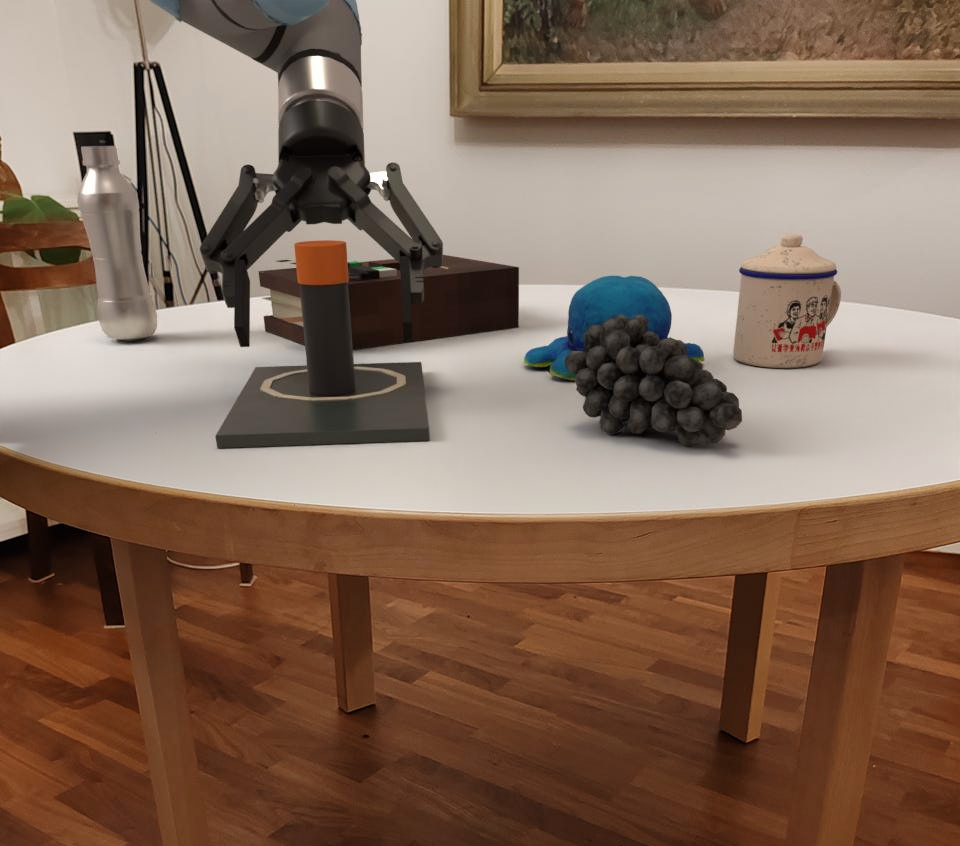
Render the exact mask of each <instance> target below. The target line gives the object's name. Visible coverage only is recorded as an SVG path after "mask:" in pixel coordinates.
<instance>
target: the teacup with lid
mask: <svg viewBox="0 0 960 846" xmlns="http://www.w3.org/2000/svg"><path fill="white" fill-rule="evenodd" d="M803 239H804V238H803V236H802V234H799V233H798V234H796V233H794V234H793V233H787V234H783V235H781V237H780V242H779V243H780V245H775V246H773V247H770V248H768V249H766V250H765V251H764V252H762V253H760V254H759V255H757V256H755V257H751V258H747V259H746V260H744V261H743V262H742V263H741V265H740V266H741V267H740V268H739V270H738V271H739V273H740V283H739V284H740V285H739V293H738V303H737V312H736V322H735V332H734V343H733V350H732V351H733V352H732V356H733V358H734V359H735V360H736V361H737V362H739V363H742V364H745V365H748V366H749V365H750V366H754V367H761V368H769V369H770V368H772V369H797V368H806V367H811V366H815V365H817V364H819V363H820V362H821V361H822V360H823V355H824V347H825V340H826V333H827V327H828V326H829V325H830V324H831V323H832V322H833V320H834V318H835V317H836V315H837V313H838V310H839V308H840V304H841V299H842V290H841V287H840V285H839V283H838V282H837V281H836V280H835V276H836V275H837V274H838V270H837V264H836V263H835V262H834V261H832V260H830V259H826V258H824V257H823V256H820V255H819V254H818V253H817V252H815V250H813V249H812V248H810V247H807V246H803V245H802V244H803Z"/></svg>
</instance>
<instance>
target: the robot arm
mask: <svg viewBox="0 0 960 846" xmlns="http://www.w3.org/2000/svg"><path fill="white" fill-rule="evenodd" d="M149 1H150V2H151V3H152V4H154V5H156V6H157V7H159V8H160V9H162V10H163V11H165V12H166V13H168V14H169V15H171V16H173V17H174V18H175V20H176V21H178V22H179V23H182V22H183V23H185V24H187V25H189V26H191V27H192V28H194V29H195V30H198V31H200V32H202V33H204V34H206V35H207V36H209V37H211V38H213V39H215V40H217V41H218V42H221V43H222V44H224V45H226V46H228V47H230V48H232V49H234V50H236V51H237V52H239V53H241V54H243V55H245V56H246V57H249V58H250V59H252V60H253V61H255V62H257V63H259V64H261V65H263V66H264V67H266V68H268V69H270V70H272V71H274V72H275V73H276V74H277V86H278V87H277V118H278V119H277V120H278V121H277V122H278V129H277V130H278V132H277V135H278V136H277V138H278V139H277V141H278V145H277V147H278V148H277V149H278V151H277V152H278V153H277V154H278V155H277V156H278V159H277V160H278V161H277V162H278V164H277V167H276V168H275V171H273V173H260V172H256V168H255V167H254V166H253V165H252V164H244V165H243V166H242V167H241V169H240V172H239V178H238V179H239V180H238V184H237V185H238V186H236V188H235V190H234V191H233V193H232V195H231V197H230V198H229V200H228V201H227V203H226V204H225V206H224V208H223V209H222V210H221V212H220V214H219V215H218V217H217V219H216V220H215V222H214V223H213V225H212V226H211V228H210V230H209V232H208V233H207V235H206V237H205V238H204V239H203V241H202V243H201V245H200V247H199V252H200V256H201V258H202V261H203V264H204V267H205V270H206V272H207V273H209V274H217V273H220V274H221V293H222V297H223V300H224V303H225V305H226V307H227V308H228V309H234V313H233V314H234V315H233V322H234V323H233V325H234V326H233V328H234V332H235V334H236V338H237V341H238V345H239V347H240V348H249V347H250V346H251V345H250V344H251V343H250V341H251V340H250V339H251V337H250V335H251V334H250V333H251V332H250V331H251V329H250V327H251V280H250V279H251V278H250V276H249V273H248V270H249V269H250V268H251V267H252V266H253V265H254V264H255V263H256V262H257V261H258V260H259V259H260V258H261V257H262V256H263V255H264V254H265V253H266V252H267V251H268V250H269V249H270V248H271V247H272V246H273V245H274V244H275V243H276V242H277V241H278V240H279V239H280V238H281V237H282V236H283V235H284V234H285V233H286V232H287V233H291V232H292V231H294V229H295V228H296V227H297V226H298V225H299V224H300V223H301V222H305V224H306V225H318V224H323V223H326V224H330V225H342V224H343V222H344V221H347V220H348V221H349V222H350V223H351V224H352V225H353V226H354V227H355V228H356V229H357V230H359V231H363V232H365V233H366V234H367V235H368V236H369V237H370V238H371V239H372V240H374V242H376V243H377V244H378V245H379V246H380V247H381V249H383V250H384V251H385V252H387V253H388V254H389V255H390V256H391V257H392V259H395V260H396V261H397V262H399V263H400V274H401V295H402V317H403V337H404V342H406V343H413V342H414V341H413V337H412V313H411V303H422V302H423V300H424V278H423V272H424V270H425V269H427V268H429V267H432V268H436V269H437V268H440V267H441V266H442V264H443V255H444V242H443V240H442V239H441V237H440V235H439V234H438V232H437V231H436V229H435V228H434V227H433V225H432V224H431V222H430V221H429V218H427V216H426V215H425V214H424V212H423V210H422V208H421V207H420V206H419V204H418V203H417V201H416V200H415V198H414V197H413V195H412V194H411V192H410V191H409V189H408V188H407V187H406V185H405V183H404V182H403V176H402V171H401V167H400V165H399V164H398V163H397V162H389V163H387V164H386V167H385V170H384V171H375V172H370V171H369V170H368V169H367V167H366V156H365V133H364V105H363V103H364V102H363V89H362V87H363V79H362V77H363V76H362V45H363V39H362V38H363V33H362V27H361V26H362V25H361V22H360V14H359V9H358V4H357V0H149ZM372 190H375V191H377V192H378V193H379V195H380V196H381V197H382V198H383V200H384V201H385V202H388V201H389V204H390V207H391V209H392V211H393V212H394V214H395V216H396V217H397V218H398V220H399V221H400V224H402V226H403V227H404V229H405V231H406V232H407V233H408V234H407V233H406V232H405V231H404V230H403V229H402V228H401V227H399V226H398V225H397V224H396V223H395V222H394V221H393V220H391V218H390V217H388V216H387V215H386V214H385V213H384V212H383V211H382V210H381V209H380V208H378V207H377V205H375V204H374V202H372V200H371V198H370V196H369V195H370V193H371V191H372ZM271 192H274V193H275V195H274V196H273V197H272V199H271V202H270V204H269V206H267V207H266V208H265V209H264V210H263V211H262V212H261V213H260V214H259V216H257V217H256V218H255V219H254V220H253V221H252V222H251V219H252V218H253V217H254V215H255V213H256V211H257V208H258V204H263V203H264V202H265V198H266V196H267V194H269V193H271ZM250 222H251V223H250ZM249 223H250V224H249Z"/></svg>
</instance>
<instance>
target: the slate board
mask: <svg viewBox="0 0 960 846" xmlns="http://www.w3.org/2000/svg"><path fill="white" fill-rule="evenodd" d="M422 365H423V364H422V361H405V362H403V361H402V362H374V363H354V373H355V387H356V390H355V391H354V392H352V393H349V394H345V395H339V396H319V395H314V394H311V393H310V391H309V381H308V371H307V365H281V366H279V365H278V366H277V365H276V366H255V367H254V370H253V371H252V372H251V374H250V376H249V378H248V380H247V381H246V383H245V384H244V386H243V388H242V389H241V392H240V393H239V395H238V397H237V398H236V399H235V402H234V403H233V405H232V407H231V409H230V410H229V412H228V413H227V415H226V417H225V419H224V420H223V422H222V423H221V425H220V428H219V429H218V431H217V432H216V434H215V443H216V449H230V448H231V449H233V448H234V449H235V448H259V447H261V448H263V447H287V446H288V447H290V446H292V447H293V446H315V445H319V446H321V445H343V444H344V445H345V444H370V443H372V444H373V443H374V444H375V443H398V442H399V443H400V442H425V441H427V442H428V441H430V427H429V426H430V425H429V417H428V408H427V399H426V391H425V383H424V374H423V373H424V372H423V366H422Z"/></svg>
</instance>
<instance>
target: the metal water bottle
mask: <svg viewBox="0 0 960 846" xmlns="http://www.w3.org/2000/svg"><path fill="white" fill-rule="evenodd" d="M80 151H81V156H82V166H85V167H86V173H85V175H84V177H83V179H82V181H81V184H80V186H79V188H78V192H77V202H76V203H77V206H78V211H79V212H80V216H81V220H82V224H83V226H84V229H85V233H86V235H87V240H88V243H89V247H90V252H91V254H92V260H93V264H94V271H95V282H96V291H97V296H98V298H97V305H96V307H97V319H98V323H99V325H100V327H101V331H102V332H103V333H104V334H105V336H106V337H107V338H110V339H116V340H120V341H127V342H133V341H134V342H135V341H138V340H141V339H145V338H147V337H150V336H153V335H154V334H155V333H156V331H157V329H158V312H157V309H156V306H155V303H154V299H153V297H152V295H151V294H150V292H151V291H150V288H149V283H148V279H147V275H146V271H145V266H144V261H143V260H144V259H143V254H142V242H141V241H142V240H141V226H140V225H141V223H140V221H141V220H140V219H141V218H140V202H139V198H138V195H137V193H136V191H135V189H134V188H133V187H132V185H131V184H130V182H129V181H128V180H127V179H126V178H125V176H124V175H123V174H122V173H121V172H120V170H119V165H121V162H120V161H121V160H119V155H118V149H117V146H116V145H88V146H85V145H84V146H81V147H80Z"/></svg>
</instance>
